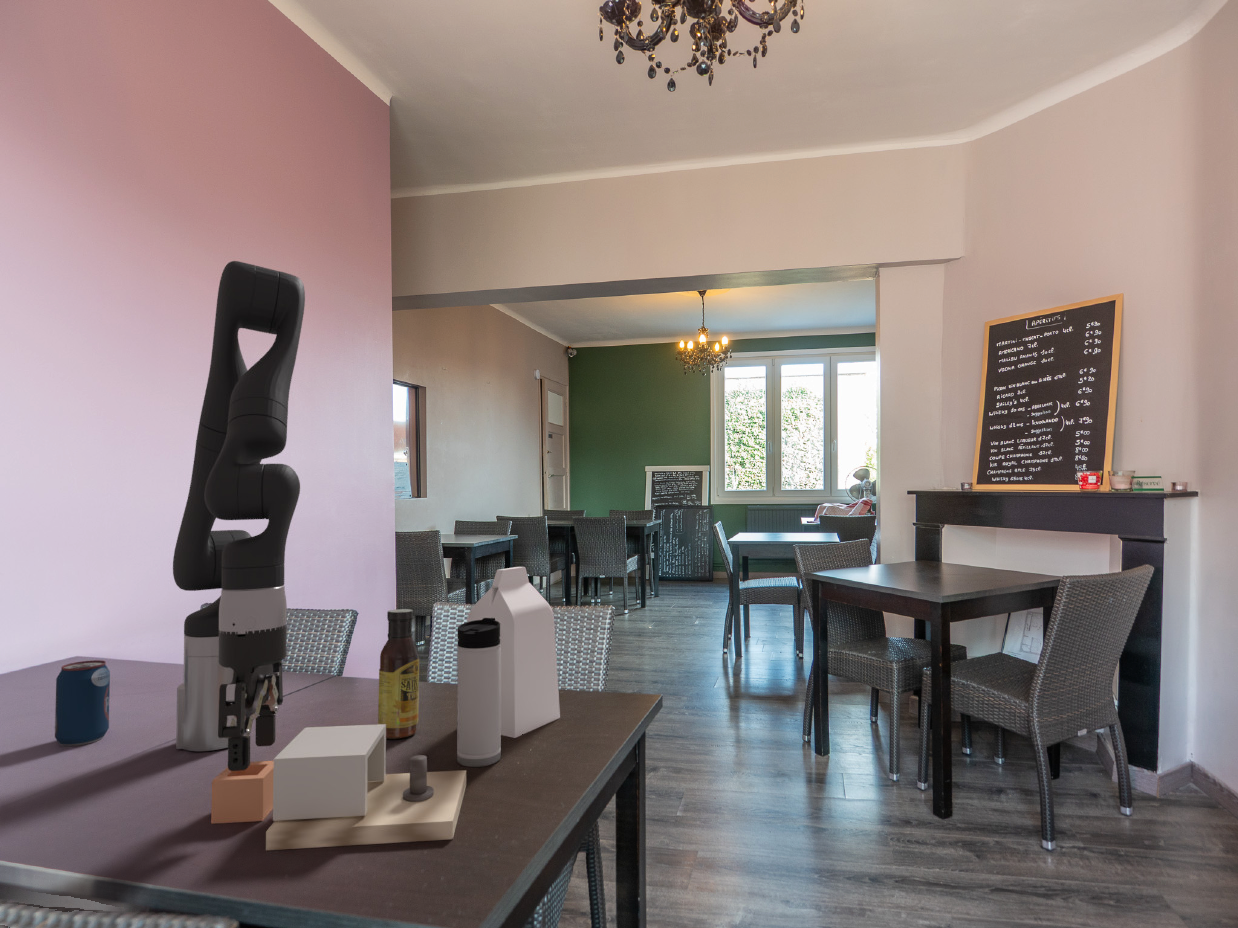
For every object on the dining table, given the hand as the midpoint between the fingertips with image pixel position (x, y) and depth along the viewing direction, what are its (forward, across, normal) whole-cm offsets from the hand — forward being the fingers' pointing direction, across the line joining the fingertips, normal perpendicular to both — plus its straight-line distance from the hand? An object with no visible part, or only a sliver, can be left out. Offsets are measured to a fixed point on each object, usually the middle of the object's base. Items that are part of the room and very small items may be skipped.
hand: (252, 756), depth 88 cm
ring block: (+7, 0, -1) cm, 7 cm away
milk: (+7, -31, +31) cm, 44 cm away
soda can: (+6, -32, -37) cm, 49 cm away
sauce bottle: (+7, -27, +13) cm, 31 cm away
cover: (+5, +3, +10) cm, 12 cm away
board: (+7, +3, +15) cm, 17 cm away
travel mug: (+7, -14, +26) cm, 31 cm away
